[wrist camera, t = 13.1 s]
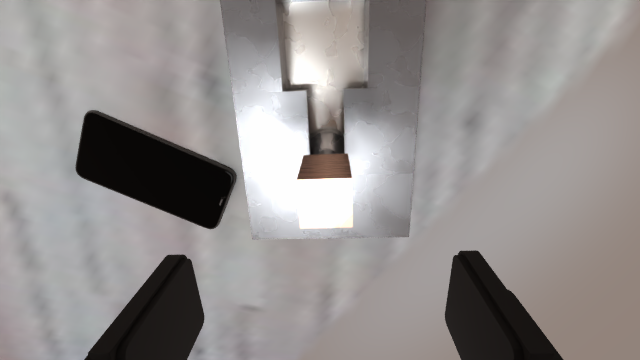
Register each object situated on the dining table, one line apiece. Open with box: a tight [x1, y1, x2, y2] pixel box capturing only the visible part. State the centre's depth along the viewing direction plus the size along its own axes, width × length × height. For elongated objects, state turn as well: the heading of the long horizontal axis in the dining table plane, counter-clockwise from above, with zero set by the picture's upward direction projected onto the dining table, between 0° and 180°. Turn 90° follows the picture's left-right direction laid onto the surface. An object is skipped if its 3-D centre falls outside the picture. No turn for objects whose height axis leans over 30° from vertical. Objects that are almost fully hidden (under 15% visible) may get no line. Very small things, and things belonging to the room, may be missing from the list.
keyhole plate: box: [220, 0, 426, 239], centre depth 26 cm, size 22×14×4 cm, turn 2°
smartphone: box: [76, 111, 236, 229], centre depth 31 cm, size 7×1×15 cm
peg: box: [296, 129, 353, 228], centre depth 24 cm, size 4×4×11 cm
